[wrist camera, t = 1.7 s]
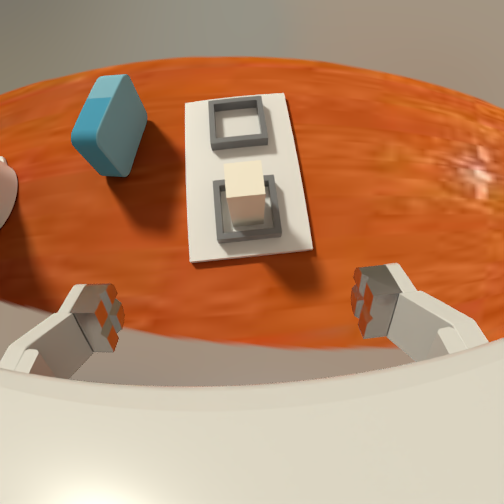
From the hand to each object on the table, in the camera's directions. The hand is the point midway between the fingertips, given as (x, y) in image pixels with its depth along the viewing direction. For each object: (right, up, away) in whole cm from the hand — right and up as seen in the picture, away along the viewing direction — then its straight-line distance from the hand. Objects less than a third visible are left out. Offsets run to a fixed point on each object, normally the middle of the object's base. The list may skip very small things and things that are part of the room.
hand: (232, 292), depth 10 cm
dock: (-1, +13, +35) cm, 37 cm away
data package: (-19, +18, +36) cm, 45 cm away
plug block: (0, +7, +32) cm, 33 cm away
